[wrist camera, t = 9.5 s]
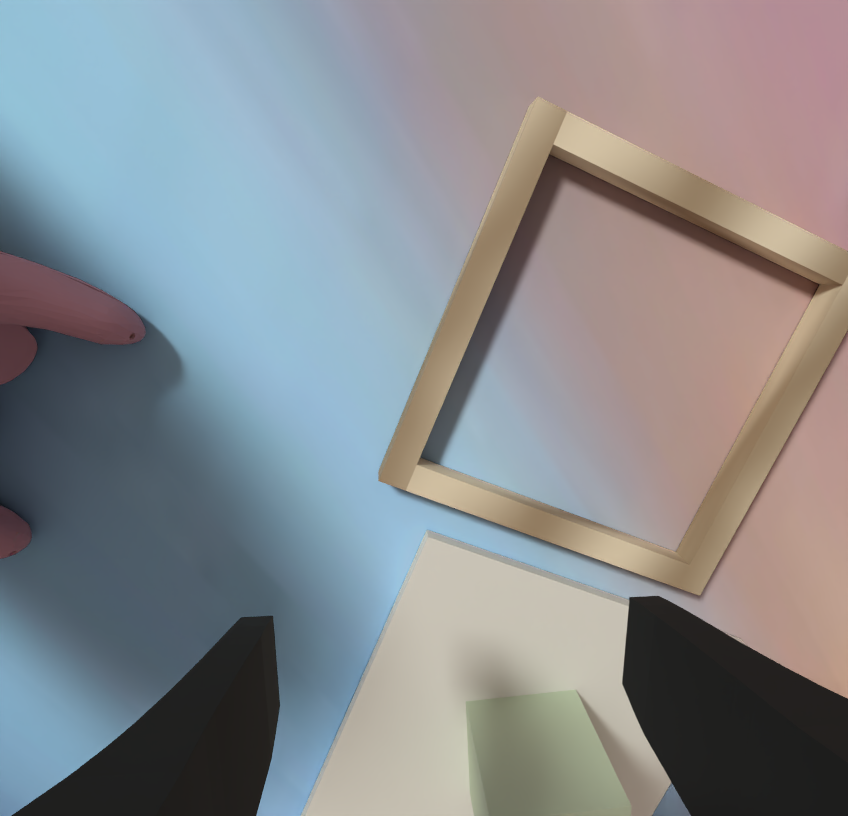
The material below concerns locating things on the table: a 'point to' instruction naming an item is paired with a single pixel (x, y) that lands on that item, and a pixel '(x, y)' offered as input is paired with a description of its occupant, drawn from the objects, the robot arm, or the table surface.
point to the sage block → (539, 759)
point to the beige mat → (477, 682)
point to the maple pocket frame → (767, 423)
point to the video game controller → (56, 311)
